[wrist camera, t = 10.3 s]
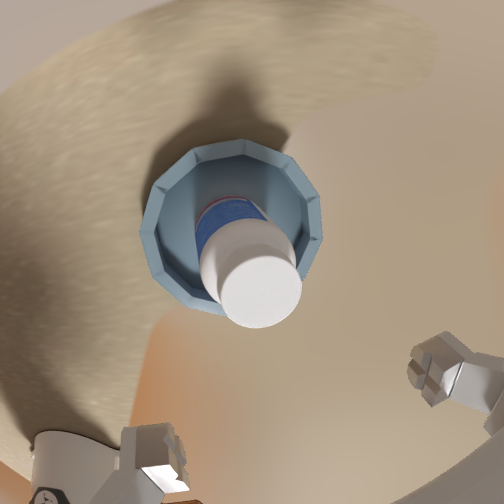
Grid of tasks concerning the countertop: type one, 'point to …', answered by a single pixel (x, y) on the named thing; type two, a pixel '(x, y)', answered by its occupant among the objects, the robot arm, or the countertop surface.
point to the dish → (217, 185)
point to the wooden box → (187, 502)
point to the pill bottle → (246, 262)
